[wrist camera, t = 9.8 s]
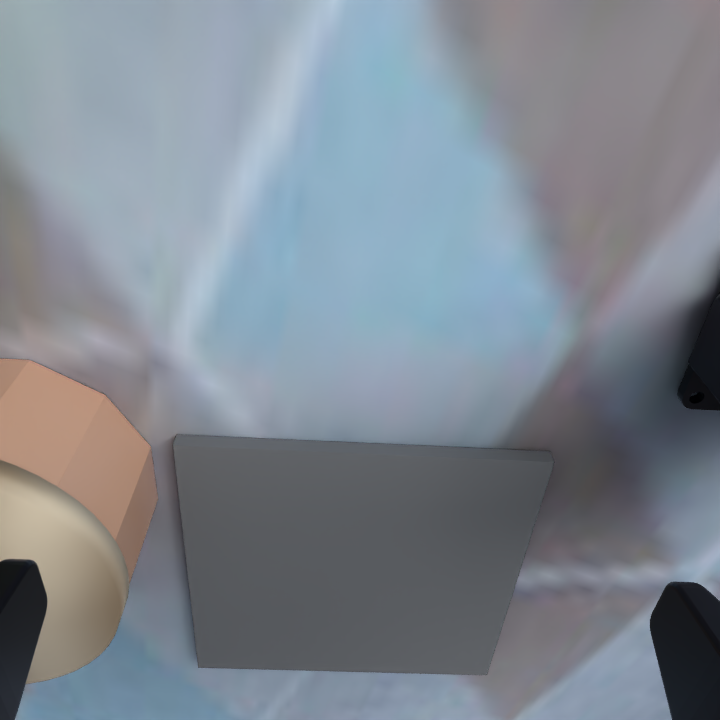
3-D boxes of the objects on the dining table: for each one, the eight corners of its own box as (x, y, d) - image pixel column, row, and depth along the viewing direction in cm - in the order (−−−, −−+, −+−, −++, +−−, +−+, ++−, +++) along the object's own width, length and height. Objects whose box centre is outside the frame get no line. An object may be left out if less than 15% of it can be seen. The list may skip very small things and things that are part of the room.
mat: (550, 451, 24) (554, 462, 24) (484, 663, 32) (486, 675, 32) (176, 434, 24) (172, 445, 23) (200, 655, 31) (198, 667, 31)
